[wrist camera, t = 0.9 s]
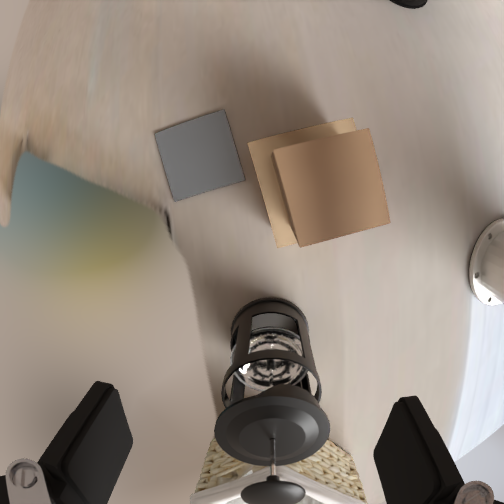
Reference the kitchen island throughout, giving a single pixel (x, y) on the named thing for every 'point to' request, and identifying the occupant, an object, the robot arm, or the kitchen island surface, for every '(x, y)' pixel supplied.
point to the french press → (271, 400)
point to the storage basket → (281, 477)
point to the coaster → (199, 155)
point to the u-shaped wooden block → (331, 186)
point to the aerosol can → (410, 3)
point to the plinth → (267, 174)
